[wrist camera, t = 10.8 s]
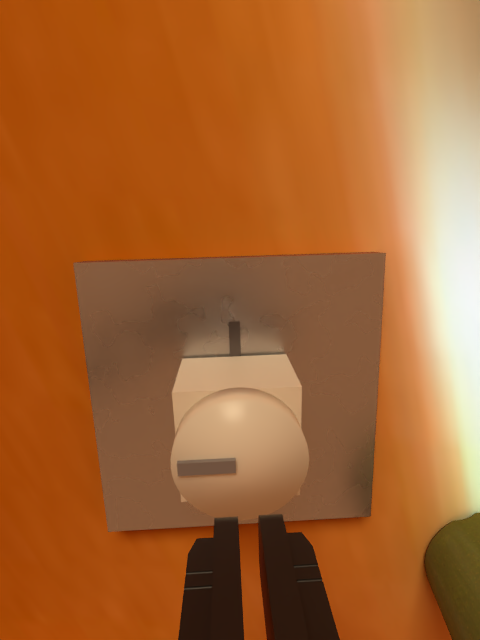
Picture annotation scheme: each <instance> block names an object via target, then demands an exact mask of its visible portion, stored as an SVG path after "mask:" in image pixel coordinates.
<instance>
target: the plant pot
mask: <svg viewBox="0 0 480 640" xmlns="http://www.w3.org/2000/svg"><path fill="white" fill-rule="evenodd" d="M425 568H426V573H427V577H428V580H429V583H430V585H431V588H432V590H433V593H434V595H435V598H436V600H437V603H438V605H439V608H440V610H441V612H442V615H443V617H444V620H445V622H446V625H447V627H448V630H449V632H450V635H451V637H452V640H480V513H475V514H474V515H473V516H472V517H470V518H467V519H463V520H457V521H452V522H451V523H449V524H447V525H446V526H445V527H444V528H442V529H441V530H440V531H439V532H438V533H437V534H436V535H435V537H434V538H433V539H432V541H431V542H430V544H429V546H428V549H427V551H426V555H425Z"/></svg>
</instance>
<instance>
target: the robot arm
mask: <svg viewBox="0 0 480 640" xmlns="http://www.w3.org/2000/svg"><path fill="white" fill-rule="evenodd" d="M258 528H259V564H260V578H261V588H262V597H263V606H264V616H265V625H266V634H267V640H340V639H339V636H338V632H337V629H336V625H335V622H334V619H333V615H332V612H331V608H330V605H329V601H328V598H327V594H326V591H325V587H324V584H323V582H322V577H321V574H320V570H319V567H318V563H317V560H316V556H315V553H314V549H313V546H312V545H311V544H310V542H309V541H308V540H307V539H306V537H305V536H304V535H303V534H302V532H298V533H286V528H285V524H284V519H283V515H282V514H270V515H259V516H258ZM178 640H244V629H243V609H242V589H241V569H240V549H239V529H238V516H237V517H219V518H214V538H199V539H196V541H195V543H194V545H193V546H192V548H191V550H190V552H189V553H188V560H187V568H186V577H185V586H184V595H183V603H182V612H181V621H180V630H179V638H178Z"/></svg>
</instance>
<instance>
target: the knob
mask: <svg viewBox="0 0 480 640" xmlns="http://www.w3.org/2000/svg"><path fill="white" fill-rule="evenodd" d="M172 400H173V412H174V424H175V439H174V443H173V448H172V453H171V472H172V477H173V480H174V483H175V485H176V487H177V489H178V490H179V492H180V494H181V502H187V501H188V502H189V503H190V504H191V505H192V506H193V507H195V508H196V509H198V510H199V511H201V512H203V513H205V514H207V515H210V516H213V517H216V518H219V517H237V516H238V521H243V520H251V519H256V518H258V516H259V515H268V514H270V513H273V512H275V511H276V510H278V509H280V508H281V507H283V506H284V505H285V504H287V503H288V502H289V501H290V500H291V499H292V498H293V497H294V496H295V495H300V488H301V486H302V484H303V483H304V480H305V478H306V475H307V471H308V467H309V451H308V446H307V442H306V440H305V437H304V434H303V432H302V429H301V412H302V386H301V384H300V382H299V379H298V377H297V375H296V373H295V371H294V369H293V367H292V365H291V363H290V361H289V359H288V357H287V355H286V354H280V355H256V356H233V357H209V358H185V359H182V361H181V364H180V368H179V371H178V374H177V377H176V381H175V384H174V387H173V390H172Z"/></svg>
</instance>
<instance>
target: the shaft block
mask: <svg viewBox="0 0 480 640" xmlns="http://www.w3.org/2000/svg"><path fill="white" fill-rule="evenodd" d="M385 256H386V253H380V252H359V253H328V254H297V255H266V256H234V257H203V258H172V259H141V260H110V261H83V262H77V263H74V271H75V279H76V286H77V294H78V302H79V310H80V317H81V325H82V333H83V341H84V348H85V356H86V364H87V372H88V379H89V387H90V395H91V402H92V410H93V418H94V426H95V433H96V441H97V449H98V457H99V464H100V472H101V480H102V488H103V495H104V503H105V511H106V519H107V526H108V532H112V531H130V530H147V529H164V528H181V527H198V526H214V518H216V517H213V516H210V515H207V514H205V513H203V512H201V511H199V510H198V509H196V508H195V507H193V506H192V505H191V504H190V503H189V502H188V501H187V502H181V494H180V492H179V490H178V489H177V487H176V485H175V483H174V480H173V477H172V472H171V453H172V448H173V443H174V439H175V424H174V412H173V400H172V390H173V387H174V384H175V381H176V377H177V374H178V371H179V368H180V364H181V361H182V359H185V358H209V357H233V356H256V355H280V354H286V355H287V357H288V359H289V361H290V363H291V365H292V367H293V369H294V371H295V373H296V375H297V377H298V379H299V382H300V384H301V386H302V412H301V429H302V432H303V434H304V437H305V440H306V442H307V446H308V451H309V467H308V471H307V475H306V478H305V480H304V483H303V484H302V486H301V488H300V495H295V496H294V497H293V498H292V499H291V500H290V501H289V502H288V503H287V504H285V505H284V506H283V507H281V508H280V509H278V510H276V511H275V512H273V513H270V514H282V515H283V519H284V521H300V520H317V519H334V518H351V517H368V516H371V498H372V481H373V464H374V446H375V429H376V412H377V394H378V377H379V360H380V342H381V325H382V308H383V290H384V273H385ZM270 514H268V515H270ZM249 523H258V518H256V519H251V520H243V521H238V524H249Z"/></svg>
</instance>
